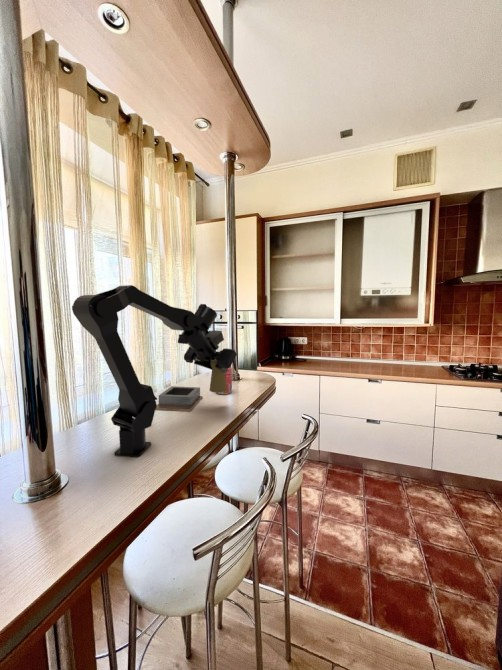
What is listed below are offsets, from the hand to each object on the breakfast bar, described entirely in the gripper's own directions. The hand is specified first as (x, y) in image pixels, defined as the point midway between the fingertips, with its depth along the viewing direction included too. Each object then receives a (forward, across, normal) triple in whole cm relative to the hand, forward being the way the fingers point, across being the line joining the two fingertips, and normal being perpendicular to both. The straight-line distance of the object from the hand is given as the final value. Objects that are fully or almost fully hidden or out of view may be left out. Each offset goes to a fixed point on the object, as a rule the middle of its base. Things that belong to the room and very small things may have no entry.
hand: (220, 370), depth 98 cm
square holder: (+6, +15, +12) cm, 21 cm away
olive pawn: (+4, 0, +6) cm, 7 cm away
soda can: (+19, +10, 0) cm, 21 cm away
